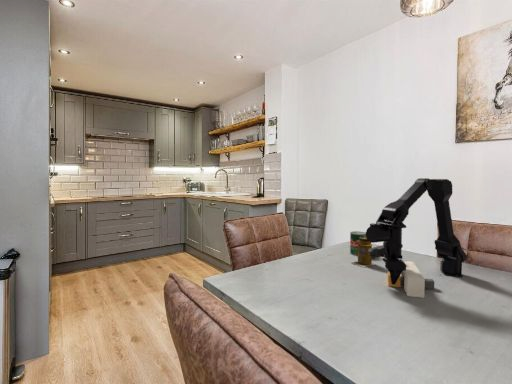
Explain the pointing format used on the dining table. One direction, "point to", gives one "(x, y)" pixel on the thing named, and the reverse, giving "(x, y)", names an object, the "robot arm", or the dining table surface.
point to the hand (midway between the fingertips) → (392, 281)
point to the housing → (413, 280)
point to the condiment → (364, 253)
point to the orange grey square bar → (400, 282)
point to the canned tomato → (355, 241)
